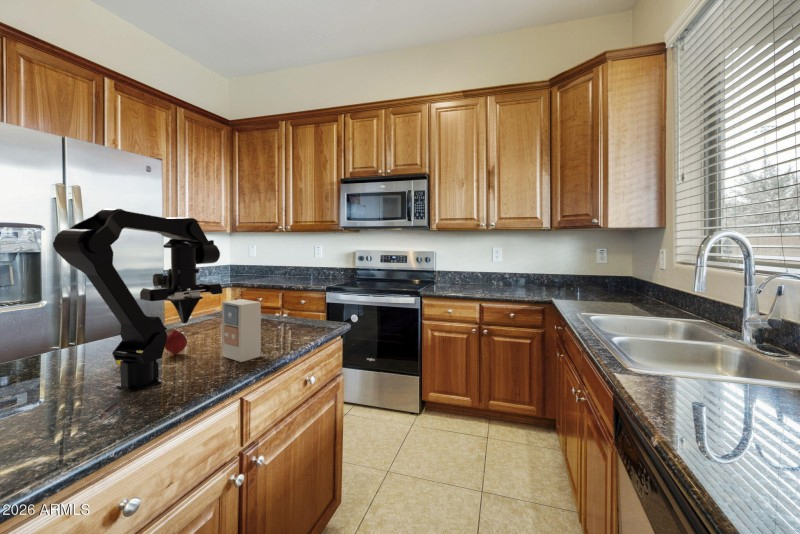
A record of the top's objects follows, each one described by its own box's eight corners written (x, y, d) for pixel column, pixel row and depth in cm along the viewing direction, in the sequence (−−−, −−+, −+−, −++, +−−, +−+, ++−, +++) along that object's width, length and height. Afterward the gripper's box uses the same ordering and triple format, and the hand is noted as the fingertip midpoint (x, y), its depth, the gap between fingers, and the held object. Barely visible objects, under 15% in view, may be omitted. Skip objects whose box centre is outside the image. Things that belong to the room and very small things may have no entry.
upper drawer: (236, 325, 103) (236, 307, 102) (223, 322, 106) (223, 305, 105) (244, 323, 105) (244, 306, 105) (232, 320, 108) (232, 304, 108)
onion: (191, 352, 111) (191, 326, 110) (178, 358, 105) (177, 331, 104) (173, 351, 111) (173, 325, 111) (159, 357, 105) (159, 330, 105)
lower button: (236, 346, 103) (236, 328, 103) (223, 342, 106) (223, 325, 106) (244, 343, 105) (244, 327, 105) (232, 340, 109) (232, 324, 108)
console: (241, 362, 103) (241, 305, 102) (222, 356, 108) (221, 301, 107) (260, 356, 109) (260, 302, 107) (241, 351, 113) (241, 299, 112)
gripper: (201, 262, 109) (201, 313, 110) (129, 264, 93) (130, 325, 94) (223, 264, 103) (223, 318, 104) (150, 267, 87) (151, 331, 88)
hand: (184, 323), depth 97 cm, fingers closed
